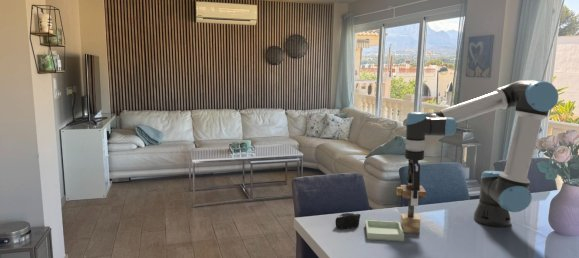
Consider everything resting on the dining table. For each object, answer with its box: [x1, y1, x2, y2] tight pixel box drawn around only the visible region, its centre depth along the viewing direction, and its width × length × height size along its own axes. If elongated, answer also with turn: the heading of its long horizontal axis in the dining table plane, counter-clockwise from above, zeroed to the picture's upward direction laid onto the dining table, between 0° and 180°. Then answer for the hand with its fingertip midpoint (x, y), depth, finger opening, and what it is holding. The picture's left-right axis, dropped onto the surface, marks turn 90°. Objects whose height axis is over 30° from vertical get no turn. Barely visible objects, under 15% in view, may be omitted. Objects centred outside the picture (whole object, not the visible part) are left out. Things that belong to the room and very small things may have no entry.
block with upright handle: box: [400, 198, 421, 234], centre depth 176 cm, size 7×6×14 cm
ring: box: [396, 184, 427, 200], centre depth 175 cm, size 11×9×3 cm
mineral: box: [335, 212, 361, 229], centre depth 180 cm, size 10×9×6 cm
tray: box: [364, 219, 405, 243], centre depth 173 cm, size 14×14×3 cm
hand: (412, 201), depth 176 cm, fingers closed on ring, 9 cm apart
